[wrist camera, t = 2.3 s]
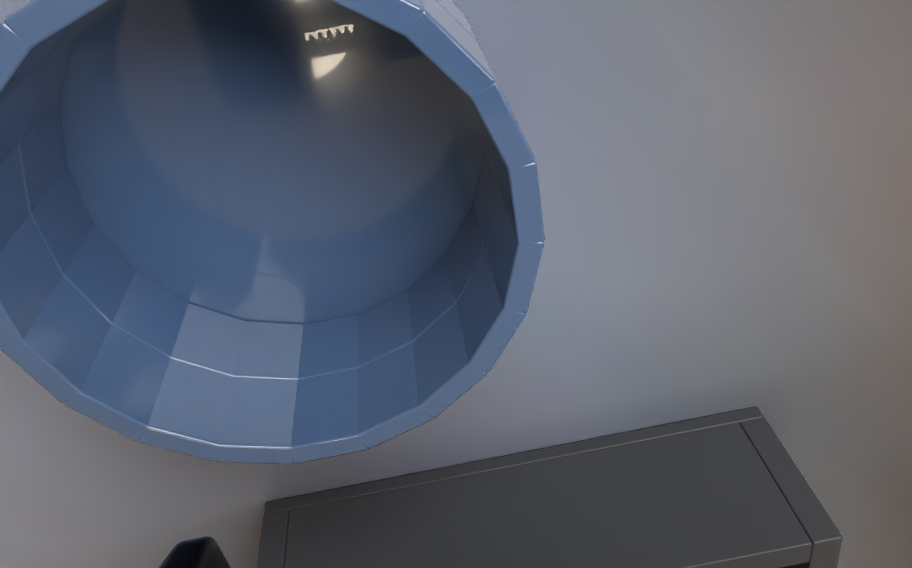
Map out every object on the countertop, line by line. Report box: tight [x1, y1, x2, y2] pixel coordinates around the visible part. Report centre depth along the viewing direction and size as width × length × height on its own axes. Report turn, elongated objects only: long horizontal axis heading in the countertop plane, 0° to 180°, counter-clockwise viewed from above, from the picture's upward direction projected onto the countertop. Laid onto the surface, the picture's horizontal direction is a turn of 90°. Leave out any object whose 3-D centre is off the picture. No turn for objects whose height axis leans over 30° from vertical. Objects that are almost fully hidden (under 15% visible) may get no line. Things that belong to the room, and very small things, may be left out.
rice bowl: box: [0, 0, 545, 464], centre depth 15 cm, size 10×10×5 cm
